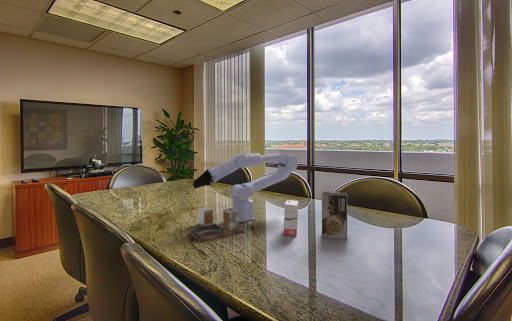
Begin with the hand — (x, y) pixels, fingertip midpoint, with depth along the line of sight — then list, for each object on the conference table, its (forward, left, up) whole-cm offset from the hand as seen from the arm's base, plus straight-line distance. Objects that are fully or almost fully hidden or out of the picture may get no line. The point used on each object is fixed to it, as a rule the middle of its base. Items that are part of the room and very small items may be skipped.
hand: (194, 185), depth 113 cm
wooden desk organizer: (-4, +13, -17) cm, 22 cm away
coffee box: (-39, +41, -18) cm, 60 cm away
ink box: (-28, +29, -18) cm, 44 cm away
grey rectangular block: (-4, +1, -18) cm, 18 cm away
